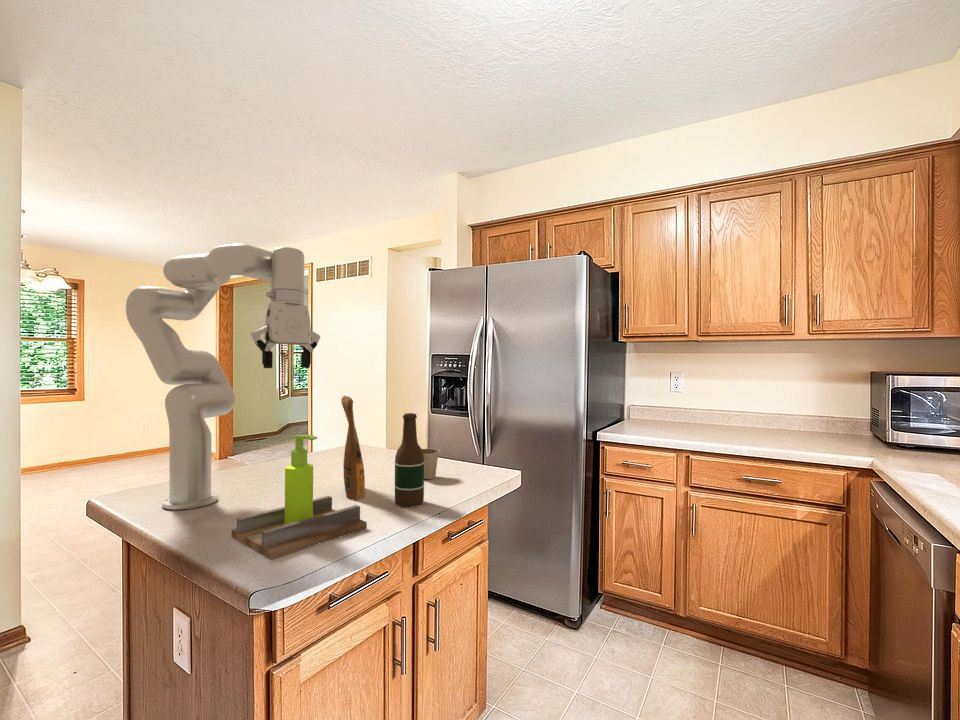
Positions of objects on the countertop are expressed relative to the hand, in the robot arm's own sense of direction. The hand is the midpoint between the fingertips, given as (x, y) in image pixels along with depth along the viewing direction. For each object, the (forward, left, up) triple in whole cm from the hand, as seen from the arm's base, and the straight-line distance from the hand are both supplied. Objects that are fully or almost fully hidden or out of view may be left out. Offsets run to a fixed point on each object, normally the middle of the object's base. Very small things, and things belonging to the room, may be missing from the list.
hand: (287, 367), depth 116 cm
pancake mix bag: (-4, +22, -36) cm, 43 cm away
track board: (+14, -4, -36) cm, 39 cm away
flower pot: (-1, +48, -36) cm, 60 cm away
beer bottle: (+16, +26, -36) cm, 48 cm away
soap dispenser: (+14, -4, -35) cm, 38 cm away
